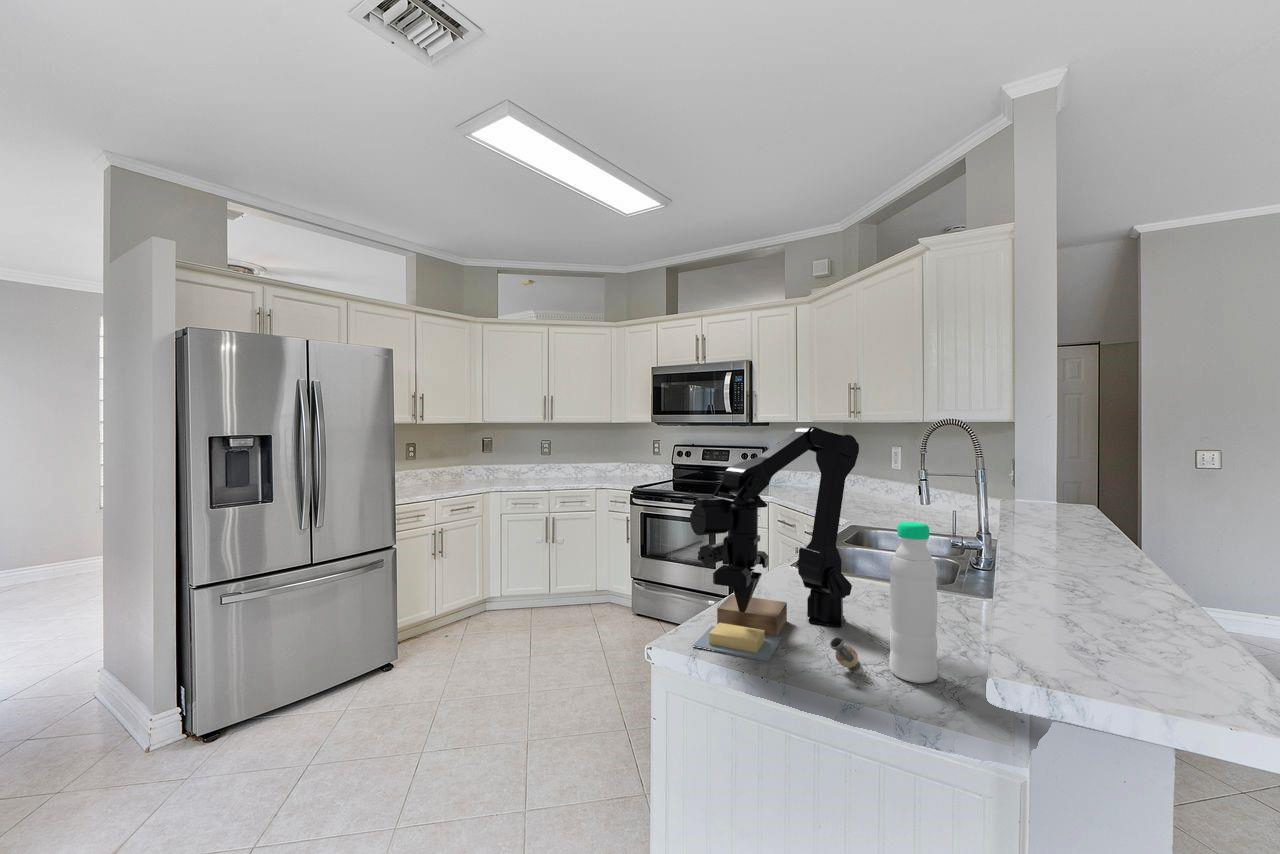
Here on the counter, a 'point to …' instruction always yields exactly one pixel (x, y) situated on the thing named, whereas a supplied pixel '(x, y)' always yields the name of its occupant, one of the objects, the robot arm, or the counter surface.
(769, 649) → the mat
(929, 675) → the water bottle
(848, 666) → the vase
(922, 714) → the counter surface
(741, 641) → the pale yellow rectangular block
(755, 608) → the brown box
